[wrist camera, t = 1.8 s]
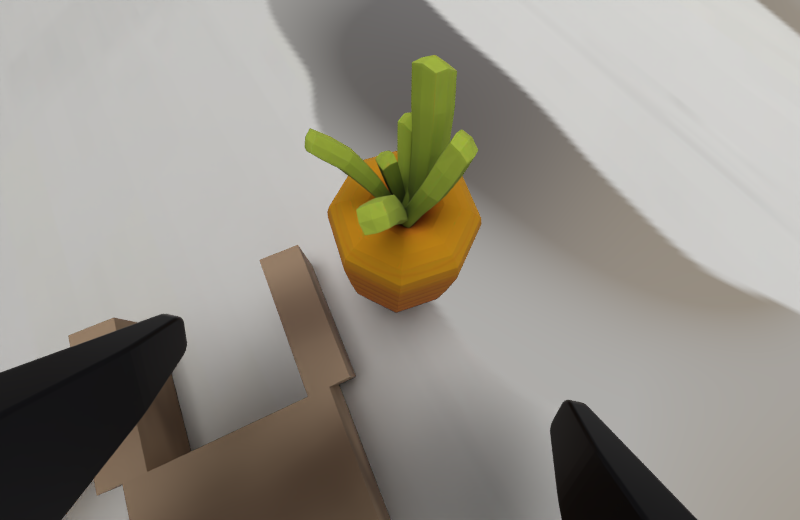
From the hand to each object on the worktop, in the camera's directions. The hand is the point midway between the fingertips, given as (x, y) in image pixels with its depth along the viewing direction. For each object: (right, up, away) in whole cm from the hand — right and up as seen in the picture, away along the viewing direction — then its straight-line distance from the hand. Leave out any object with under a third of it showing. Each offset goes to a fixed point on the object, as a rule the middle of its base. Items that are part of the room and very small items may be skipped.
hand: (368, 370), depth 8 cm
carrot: (0, +1, +13) cm, 13 cm away
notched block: (-7, -6, +10) cm, 14 cm away
